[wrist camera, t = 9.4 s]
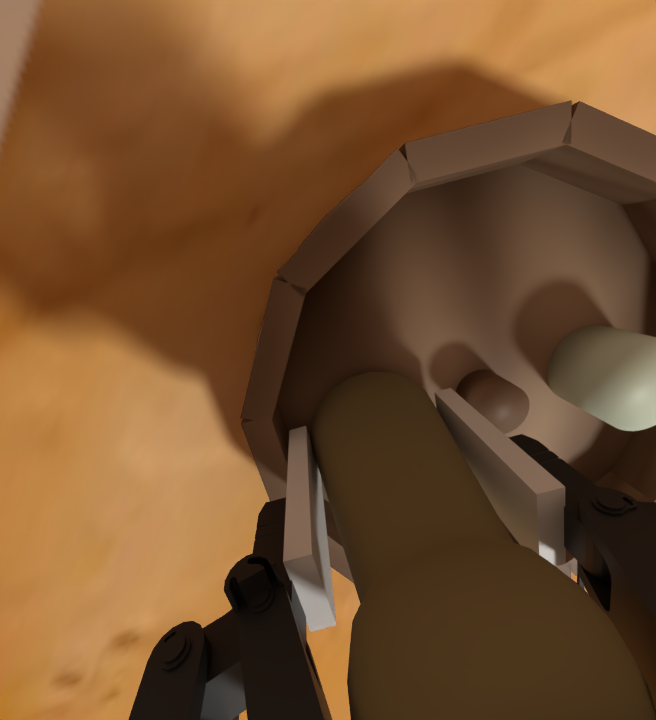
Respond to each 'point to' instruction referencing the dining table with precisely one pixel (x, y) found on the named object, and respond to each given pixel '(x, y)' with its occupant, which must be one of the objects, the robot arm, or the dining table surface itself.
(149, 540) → the dining table surface
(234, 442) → the dining table surface
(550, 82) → the dining table surface
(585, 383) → the pale beige rounded lump
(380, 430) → the olive green knobbed peg
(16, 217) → the dining table surface
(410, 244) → the tray
